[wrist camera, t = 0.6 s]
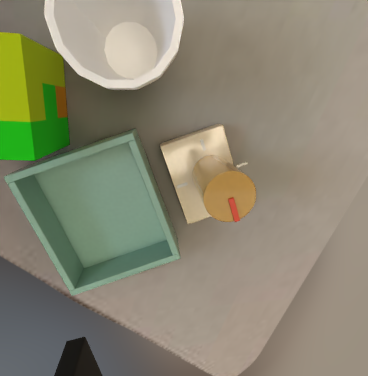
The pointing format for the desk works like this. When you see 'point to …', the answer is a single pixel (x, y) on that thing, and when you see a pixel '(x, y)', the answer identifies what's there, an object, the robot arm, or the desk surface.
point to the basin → (97, 212)
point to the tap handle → (223, 188)
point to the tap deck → (185, 161)
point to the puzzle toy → (31, 99)
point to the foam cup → (116, 38)
